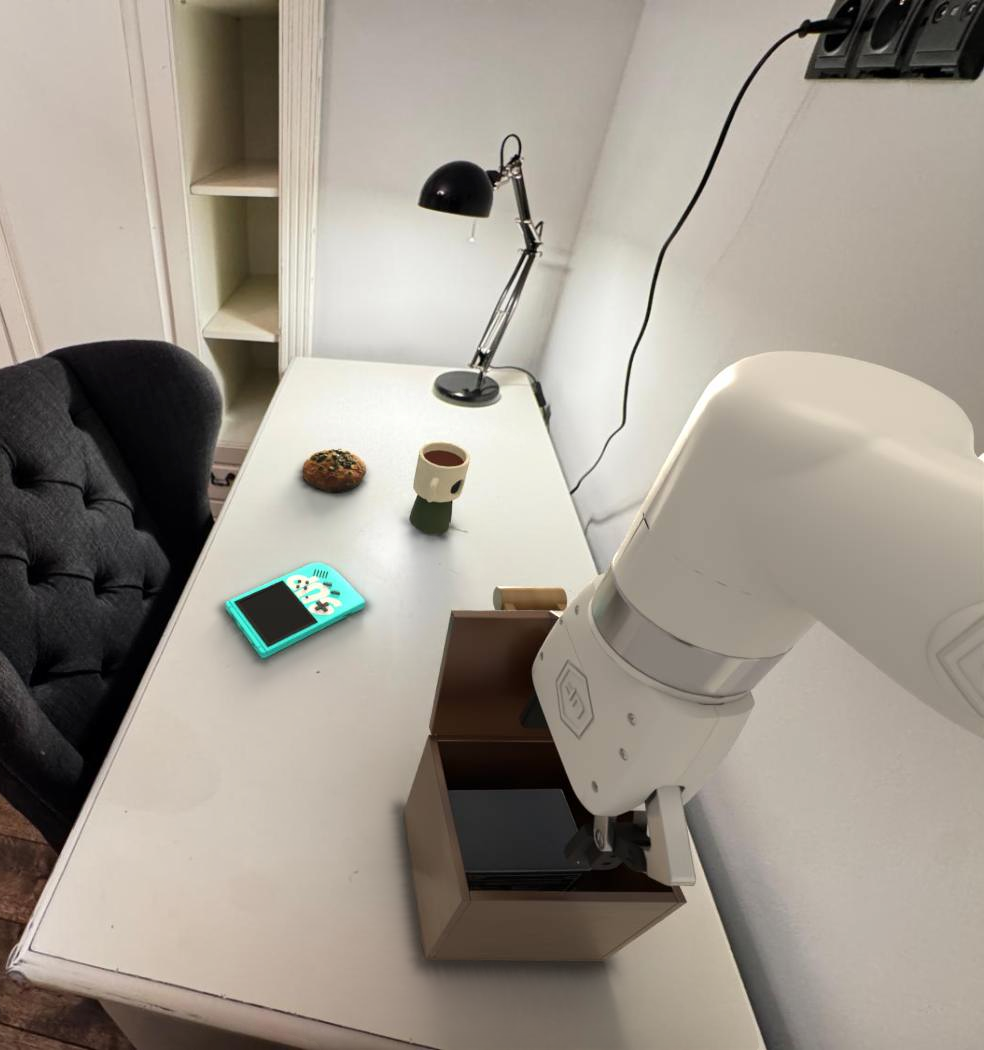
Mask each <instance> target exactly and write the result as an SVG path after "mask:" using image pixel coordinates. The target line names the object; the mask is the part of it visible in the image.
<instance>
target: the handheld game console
mask: <svg viewBox="0 0 984 1050" xmlns="http://www.w3.org/2000/svg"><path fill="white" fill-rule="evenodd" d="M365 603H366V601H365V599H364V597H362V595H361V594H360V593H359V592H357V591H356V589H354V588H353V586H352V585H351V584H350V583H349V582H348V581H347V580H346V579H345V578H344V577H343V576H342V575H341V574H340V573H339V572H338V571H336V570H335V569H334V568H332V567H331V566H330V565H327V564H325V563H323V562H322V563H321V562H312V563H309V564H307V565H305V566H303V567H300V568H297V569H296V570H294V571H291V572H289V573H287V574H284V575H282V576H280V577H278V578H276V579H273V580H271V581H269V582H266V583H264V584H262V585H259V586H257V587H255V588H253V589H251V590H248V591H246V592H244V593H242V594H239V595H238V596H234V597H233V598H230V599H229V600H227V601H225V609H226V611H227V613H228V614H229V615H230V617H231V618H232V620H233V621H234V622H235V624H236V625H237V627H238V628H239V629H240V631H241V632H242V634H243V635H244V636H245V638H246V639H247V640H248V642H249V643H250V644H251V646H252V647H253V649H254V651H256V653H257V654H258V656H259V657H260V658H261V659H266V658H268V657H270V656H272V655H274V654H276V653H278V652H280V651H281V650H284V649H286V648H287V647H291V646H292V645H294V644H295V643H297V642H299V641H302V640H304V639H305V638H307V637H309V636H311V635H314V634H315V633H317V632H320V631H322V630H323V629H325V628H328V627H329V626H331V625H333V624H335V623H337V622H339V621H341V620H343V619H344V618H346V617H349V616H351V615H352V614H354V613H357V612H358V611H359V612H360V610H362V609H364V608H365Z"/></svg>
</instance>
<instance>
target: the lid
mask: <svg viewBox="0 0 984 1050" xmlns="http://www.w3.org/2000/svg"><path fill="white" fill-rule="evenodd" d="M492 604H493V609H451V610H450V616H449V621H448V626H447V630H446V635H445V641H444V646H443V651H442V657H441V663H440V667H439V672H438V677H437V683H436V688H435V692H434V696H433V697H434V698H433V702H432V709H431V712H430V713H431V714H430V718H429V723H428V729H429V734H431V735H528V736H552V734H551V731H550V729H549V728H524V726H521V723H520V721H519V716H520V714H521V713H522V711H523V709H524V707H525V705H526V703H527V701H528V699H529V697H530V695H531V693H532V692H533V690H535V687H534V683H533V678H532V667H533V664H534V661H535V659H536V657H537V654H538V652H539V650H540V645H541V643H542V641H543V640H546V638H547V637H546V636H545V635H546V632H547V629H548V626H549V623H550V619H551V617H550V615H549V614H548V611H564V610H565V609H566V608H567V606H568V596H567V593H566V590H565V588H563V587H562V586H496V587H495V588H494V589H493V592H492Z"/></svg>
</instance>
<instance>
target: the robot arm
mask: <svg viewBox="0 0 984 1050" xmlns="http://www.w3.org/2000/svg"><path fill="white" fill-rule="evenodd" d="M974 433H975V432H974V426H973V424H972V422H971V421H970V418H969V417H968V415H967V414H966V413H965V410H964V409H963V408H962V407H961V406H960V405H959V404H958V403H957V402H956V401H955V400H954V399H952V398H950V396H948V395H946V394H945V393H943V392H942V391H941V390H938V389H937V388H934V387H932V386H931V385H929V384H927V383H925V382H923V381H921V380H919V379H917V378H915V377H913V376H911V375H908V374H905V373H902V372H900V371H897V370H895V369H891V368H889V367H886V366H883V365H880V364H877V363H872V362H869V361H865V360H862V359H858V358H853V357H848V356H843V355H838V354H831V353H826V352H819V351H818V352H816V351H798V350H797V351H796V350H795V351H794V350H778V351H777V350H776V351H768V352H763V353H758V354H754V355H751V356H747V357H743V358H742V359H740V360H738V361H736V362H735V363H732V364H731V365H729V366H727V367H726V368H724V369H723V370H722V371H721V372H720V373H718V374H717V376H716V377H715V378H714V379H713V380H712V381H710V383H709V384H708V385H707V387H706V388H705V390H704V392H703V393H702V395H701V397H700V398H699V400H698V402H697V403H696V405H695V407H694V409H693V411H692V412H691V414H690V416H689V418H688V420H687V421H686V423H685V424H684V427H683V429H682V430H681V432H680V435H679V436H678V437H677V440H676V441H675V444H674V446H672V449H671V451H670V453H669V455H668V456H667V459H666V460H665V462H664V464H663V465H662V468H661V469H660V471H659V473H658V474H657V477H656V479H655V480H654V482H653V485H652V486H651V488H650V490H649V492H648V494H647V495H646V497H645V499H644V501H643V503H642V505H641V507H640V508H639V510H638V512H637V514H636V516H635V518H634V520H633V522H632V524H631V525H630V527H629V529H628V530H627V533H626V535H625V536H624V538H623V540H622V542H621V544H620V546H619V548H618V549H617V552H616V553H615V555H614V557H613V559H612V560H611V562H610V564H609V566H608V568H607V570H606V572H603V573H600V574H598V575H597V576H595V577H594V578H593V579H592V580H591V581H589V582H588V583H587V584H586V585H585V586H584V587H583V588H582V589H581V590H580V591H579V592H578V593H577V595H576V596H575V597H573V599H572V600H571V601H570V602H569V604H567V608H566V609H565V610H564V611H548V614H549V615H550V617H551V619H550V623H549V626H548V629H547V632H546V635H545V636H546V637H547V638H546V640H543V641H542V643H541V645H540V650H539V652H538V654H537V657H536V659H535V661H534V664H533V667H532V678H533V683H534V687H535V690H533V692H532V693H531V695H530V697H529V699H528V701H527V703H526V705H525V707H524V709H523V711H522V713H521V714H520V716H519V721H520V723H521V726H524V728H549V729H550V731H551V734H552V737H553V739H554V742H555V745H556V747H557V750H558V752H559V755H560V758H561V760H562V763H563V765H564V768H565V771H566V773H567V775H568V778H569V780H570V783H571V785H572V787H573V790H574V792H575V794H576V795H577V797H578V799H579V800H580V802H581V803H582V804H583V805H584V807H585V808H586V809H587V810H588V811H589V812H591V813H592V814H593V815H595V816H594V824H585V825H583V826H582V827H581V828H580V829H579V831H578V832H577V833H576V834H575V835H574V836H573V838H572V839H571V840H570V841H569V842H568V843H567V845H566V846H565V849H564V854H565V857H566V860H567V861H570V862H588V863H589V866H590V868H591V869H594V870H608V869H613V868H615V867H617V866H618V865H619V864H620V863H622V862H624V863H625V864H626V865H627V866H628V867H629V868H630V869H632V870H633V871H634V872H643V873H645V874H647V876H648V877H650V878H652V879H654V880H656V881H658V882H660V883H662V884H665V885H667V886H680V887H686V886H687V887H694V886H695V885H696V883H697V875H696V870H695V865H694V857H693V853H692V847H691V841H690V835H689V829H688V824H687V823H688V822H687V819H686V812H685V807H684V806H685V805H686V804H687V803H688V802H689V801H691V799H692V798H694V796H695V795H696V794H697V793H698V792H699V791H700V790H701V789H702V788H704V786H705V785H706V783H707V782H708V781H709V779H711V777H712V776H713V775H714V774H715V772H717V770H718V769H719V767H720V766H721V764H722V763H723V762H724V760H725V759H726V758H727V756H728V754H729V753H730V751H731V750H732V748H733V747H734V745H735V743H736V742H737V741H738V739H739V736H740V735H741V733H742V732H743V730H744V728H745V726H746V724H747V722H748V719H749V718H750V716H751V714H752V711H753V708H754V706H755V704H756V702H755V699H754V696H753V694H752V690H753V689H754V688H755V687H756V686H757V685H758V684H759V683H760V682H761V681H763V679H764V678H765V677H766V676H767V675H768V674H769V673H770V672H771V671H772V670H773V669H774V668H775V667H776V666H777V665H778V664H779V662H781V660H783V659H784V657H785V656H786V655H787V654H788V653H789V652H790V651H791V650H792V649H793V648H794V647H795V645H796V644H797V643H798V642H800V641H801V639H802V638H804V637H805V635H806V634H808V633H809V631H810V630H811V629H812V628H813V627H814V626H815V625H816V624H817V623H818V622H819V623H821V624H822V625H823V626H825V627H826V628H827V629H828V630H830V631H831V632H832V633H833V634H834V635H836V636H837V637H839V638H840V639H841V640H842V641H844V642H845V643H846V644H847V645H848V646H849V647H851V648H852V649H853V650H854V651H855V652H857V653H858V654H859V655H861V656H862V657H863V658H865V660H867V661H868V662H869V663H871V664H872V665H873V666H874V667H876V668H877V669H878V670H879V671H881V672H882V673H883V674H885V675H886V676H887V678H889V679H890V680H892V681H893V682H894V683H896V684H897V685H898V686H900V687H901V688H902V689H904V690H905V691H906V692H907V693H909V694H910V695H912V696H913V697H914V698H915V699H917V700H918V701H920V702H921V703H923V704H924V705H926V706H928V708H930V709H932V710H933V711H935V712H936V713H938V714H940V716H943V717H944V718H945V719H947V720H948V721H950V722H952V723H954V724H955V725H957V726H958V727H960V728H961V729H963V730H966V731H968V732H969V733H971V734H973V735H975V736H976V737H979V738H980V739H982V740H984V452H983V453H982V454H980V455H979V456H978V455H977V453H975V434H974ZM627 811H634V814H633V824H631V823H616V818H617V815H620V814H623V813H625V812H627Z"/></svg>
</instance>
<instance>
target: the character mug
mask: <svg viewBox="0 0 984 1050" xmlns="http://www.w3.org/2000/svg"><path fill="white" fill-rule="evenodd" d="M417 456H418V457H417V462H416V466H415V472H414V477H413V484H412V488H413V490H414V492H415V493H416V494H417V495H416V497H415V499H414V502H413V505H412V507H411V509H410V510H411V511H410V514H409V517H408V520H409V522H410V523H409V524H410V525H412V526H413V527H414V528H415V529H416V530H419V531H421V532H423V533H426V534H430V535H433V536H434V535H442V534H444V533H446V532H447V531H449V529H450V525H451V523H452V515H453V504H454V503H453V501H455V500H457V499H459V498H460V496H461V494H462V493H463V490H464V485H465V482H466V478H467V477H466V476H467V473H468V470H469V465H470V463H471V456H470V453H469V452H468V451H467V449H465V448H464V447H462V446H460V445H459V444H456V443H452V442H450V441H443V440H439V441H437V440H436V441H430V442H426V443H424V444H423V445H422V446H421V447H420V448H419V451H418V455H417Z"/></svg>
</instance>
